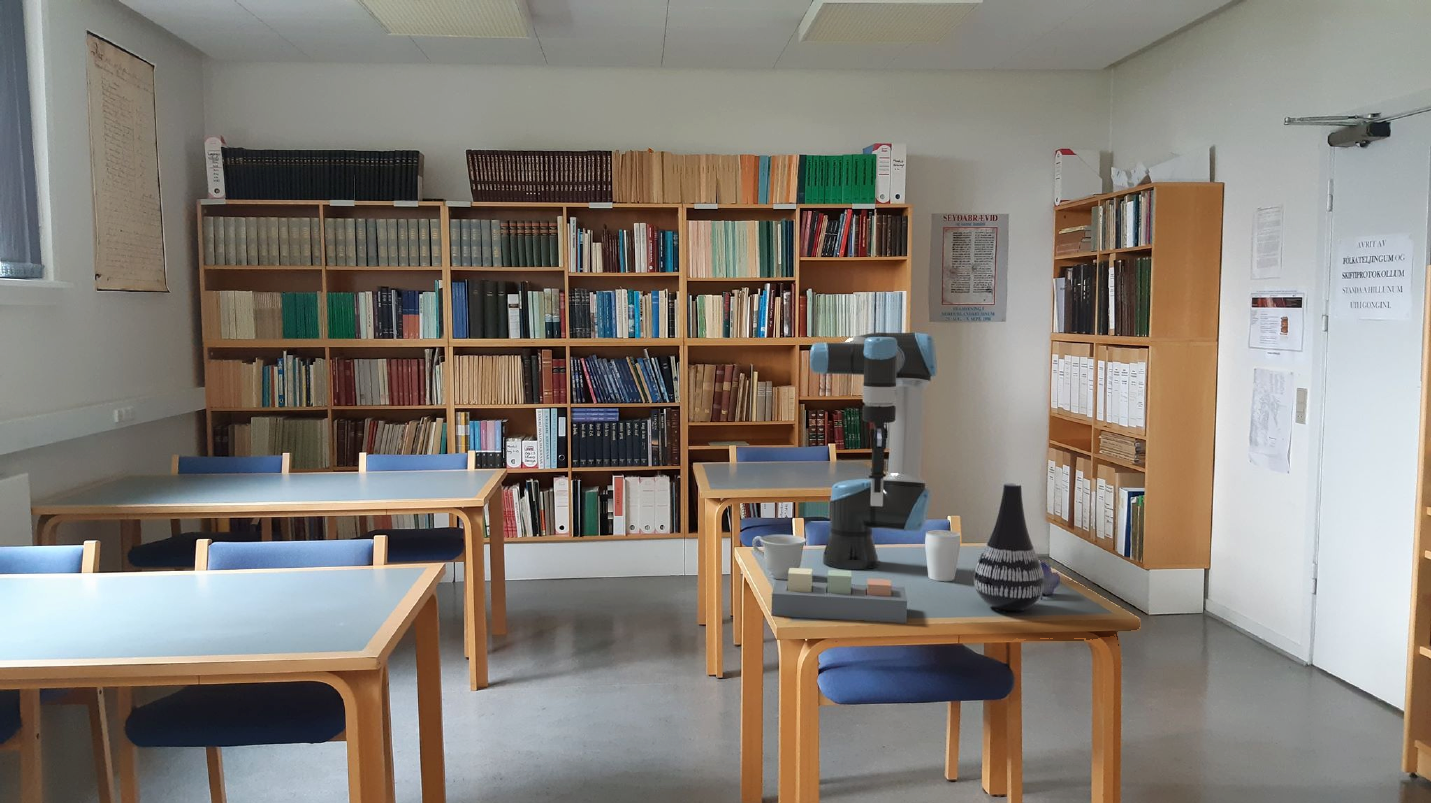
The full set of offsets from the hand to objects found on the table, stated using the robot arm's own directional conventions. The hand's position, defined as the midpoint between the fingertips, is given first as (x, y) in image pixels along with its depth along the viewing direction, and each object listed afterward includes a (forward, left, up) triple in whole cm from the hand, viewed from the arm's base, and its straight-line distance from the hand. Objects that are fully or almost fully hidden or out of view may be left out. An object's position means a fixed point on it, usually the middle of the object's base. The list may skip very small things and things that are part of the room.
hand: (876, 505), depth 228 cm
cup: (-4, +36, -24) cm, 44 cm away
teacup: (-34, +5, -24) cm, 42 cm away
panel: (-3, -9, -24) cm, 26 cm away
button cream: (-11, -14, -22) cm, 28 cm away
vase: (+22, +23, -24) cm, 40 cm away
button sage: (-3, -9, -22) cm, 24 cm away
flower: (+21, +41, -24) cm, 52 cm away
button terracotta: (+4, -4, -23) cm, 24 cm away
